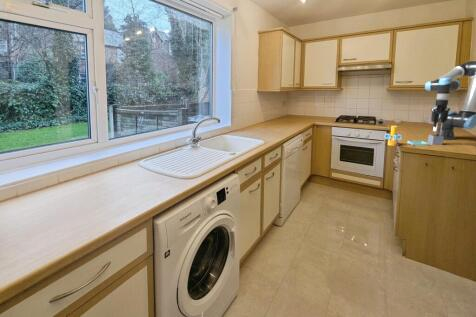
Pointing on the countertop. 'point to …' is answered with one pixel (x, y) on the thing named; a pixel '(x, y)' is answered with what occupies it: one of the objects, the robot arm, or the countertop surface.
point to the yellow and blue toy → (393, 136)
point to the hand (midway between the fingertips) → (437, 130)
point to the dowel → (438, 128)
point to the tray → (418, 143)
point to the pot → (435, 140)
